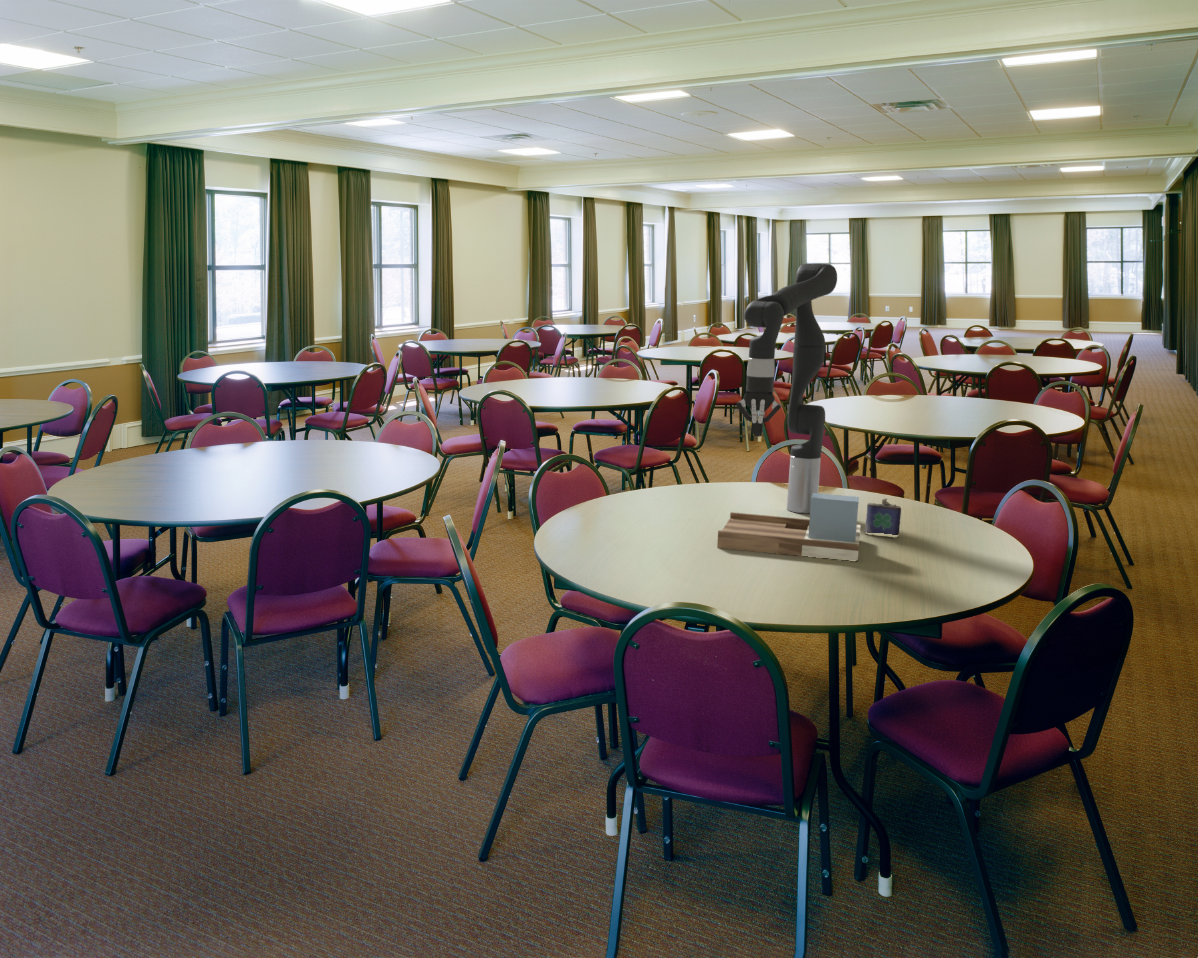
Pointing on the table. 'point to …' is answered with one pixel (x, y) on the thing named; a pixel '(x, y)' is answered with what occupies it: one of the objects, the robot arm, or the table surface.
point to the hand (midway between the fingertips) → (756, 436)
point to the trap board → (782, 537)
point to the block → (833, 517)
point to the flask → (883, 518)
